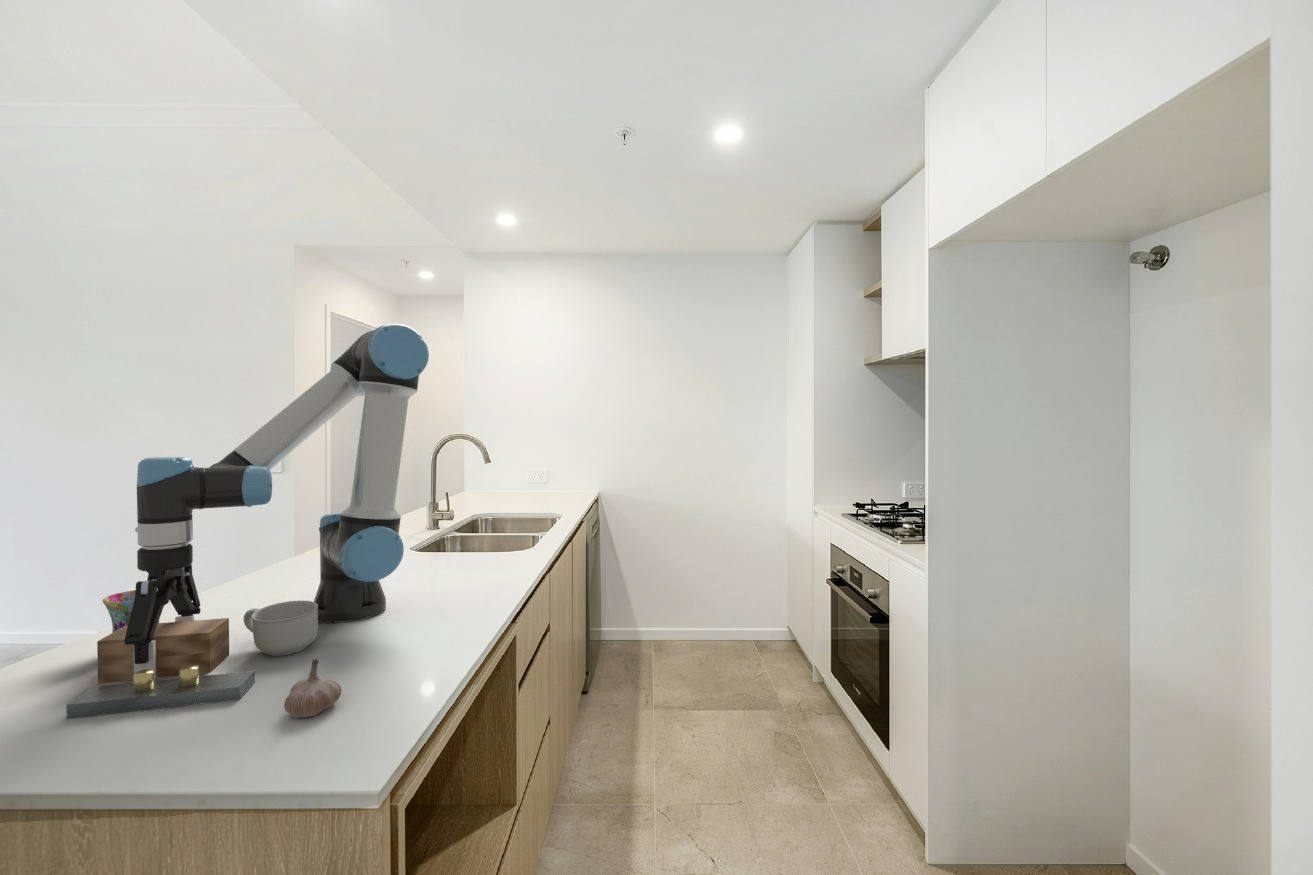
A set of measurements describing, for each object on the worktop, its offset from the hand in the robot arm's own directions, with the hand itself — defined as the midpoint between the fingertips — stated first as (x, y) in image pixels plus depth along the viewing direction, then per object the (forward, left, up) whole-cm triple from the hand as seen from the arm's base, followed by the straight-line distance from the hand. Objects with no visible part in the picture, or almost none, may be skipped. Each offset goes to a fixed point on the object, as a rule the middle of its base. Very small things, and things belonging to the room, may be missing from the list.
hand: (166, 665), depth 105 cm
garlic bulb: (-29, +24, -1) cm, 38 cm away
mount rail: (-6, +14, -1) cm, 15 cm away
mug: (+10, -13, -1) cm, 16 cm away
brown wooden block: (0, 0, -1) cm, 1 cm away
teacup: (-16, -5, -1) cm, 17 cm away
